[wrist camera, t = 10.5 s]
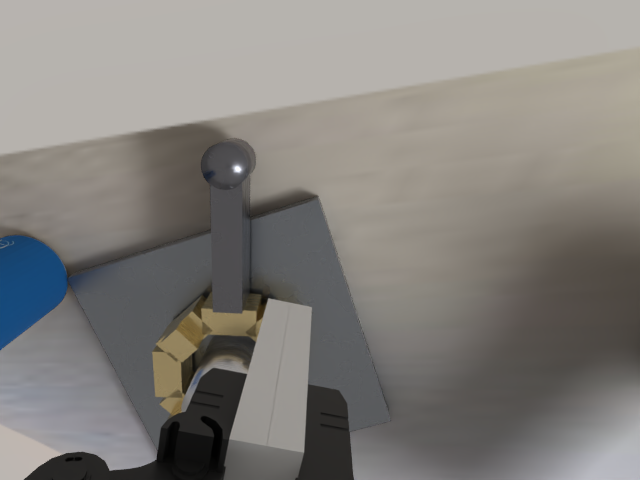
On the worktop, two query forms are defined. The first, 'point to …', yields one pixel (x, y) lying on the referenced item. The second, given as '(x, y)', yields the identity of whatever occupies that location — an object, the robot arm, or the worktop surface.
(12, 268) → the beverage can
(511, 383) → the worktop surface
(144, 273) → the base plate
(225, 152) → the grey lever
